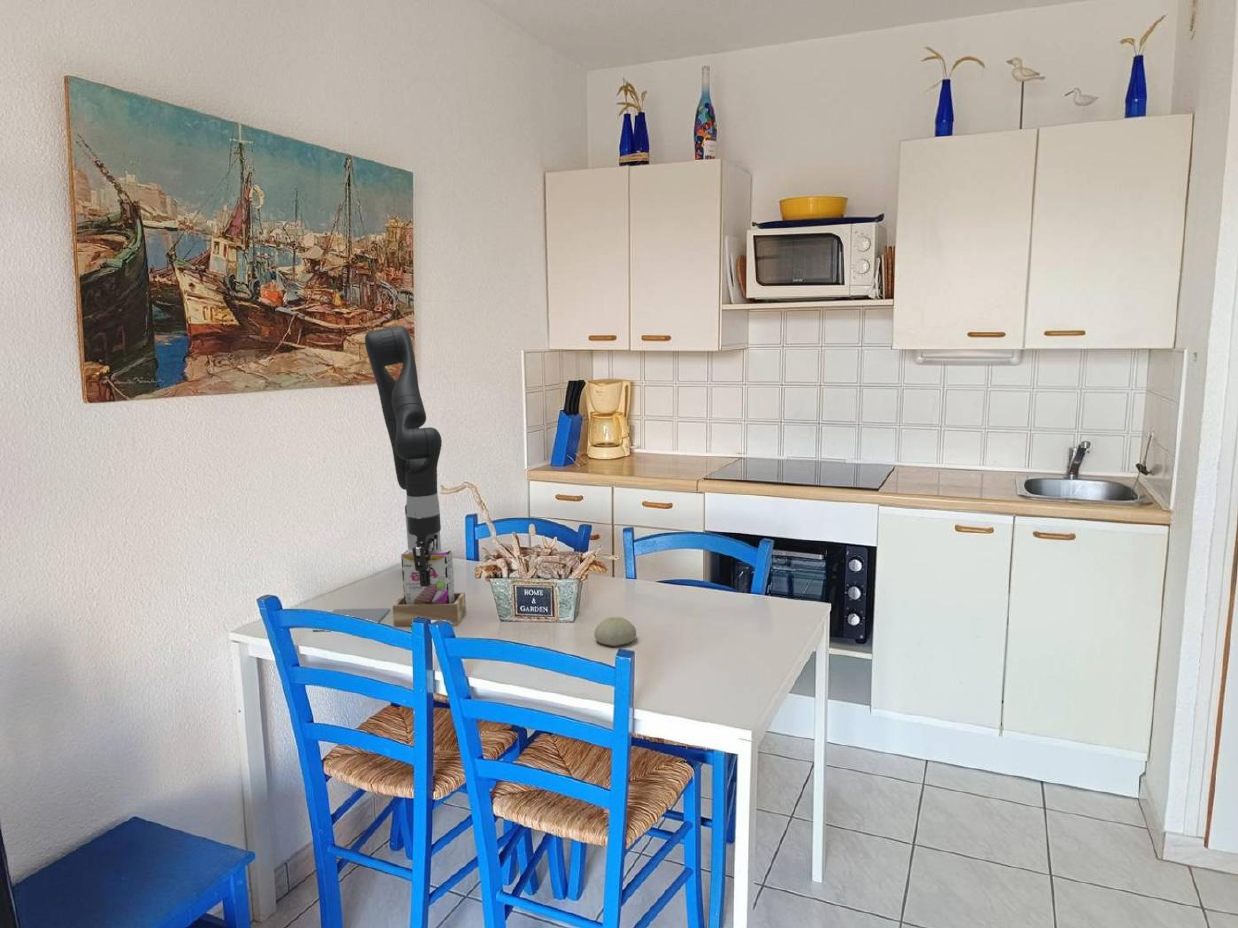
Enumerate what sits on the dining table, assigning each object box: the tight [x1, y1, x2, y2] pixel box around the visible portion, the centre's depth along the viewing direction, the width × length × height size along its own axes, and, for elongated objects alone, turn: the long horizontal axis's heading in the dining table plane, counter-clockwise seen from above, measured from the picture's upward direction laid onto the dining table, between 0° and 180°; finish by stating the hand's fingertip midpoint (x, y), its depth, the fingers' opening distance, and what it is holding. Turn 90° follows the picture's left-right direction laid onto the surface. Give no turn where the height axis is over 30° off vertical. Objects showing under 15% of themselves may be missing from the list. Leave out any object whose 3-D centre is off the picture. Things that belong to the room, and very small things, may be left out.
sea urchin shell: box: [593, 616, 637, 647], centre depth 187 cm, size 9×8×8 cm
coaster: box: [312, 607, 391, 632], centre depth 206 cm, size 14×14×1 cm
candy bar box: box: [400, 549, 455, 605], centre depth 204 cm, size 11×5×16 cm, turn 84°
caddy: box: [392, 592, 467, 627], centre depth 205 cm, size 9×15×5 cm, turn 88°
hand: (428, 582), depth 204 cm, fingers closed on candy bar box, 5 cm apart
